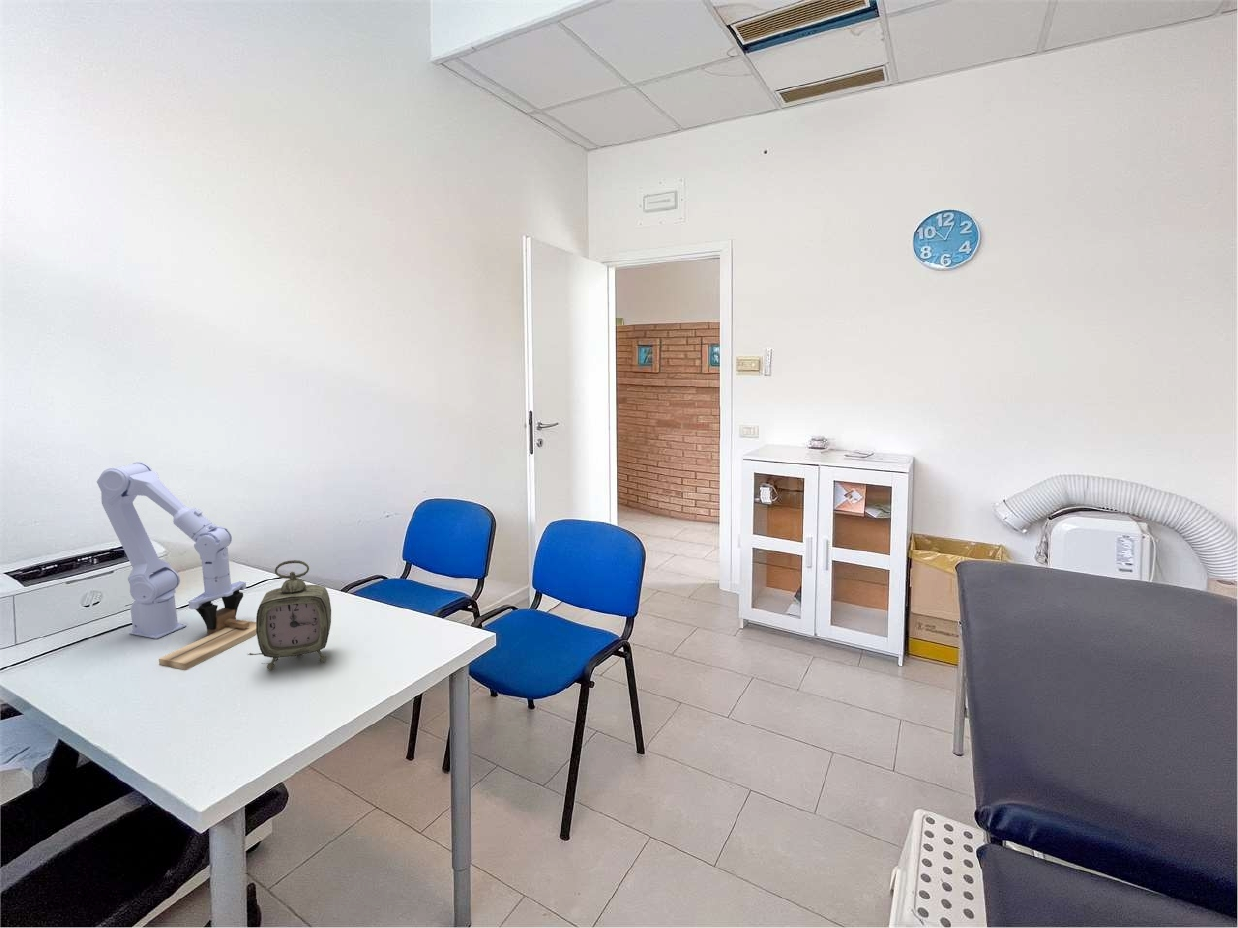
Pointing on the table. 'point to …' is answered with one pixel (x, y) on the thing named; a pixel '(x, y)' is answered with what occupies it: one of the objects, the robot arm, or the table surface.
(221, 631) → the board
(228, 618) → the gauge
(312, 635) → the tabletop clock
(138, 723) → the table surface
